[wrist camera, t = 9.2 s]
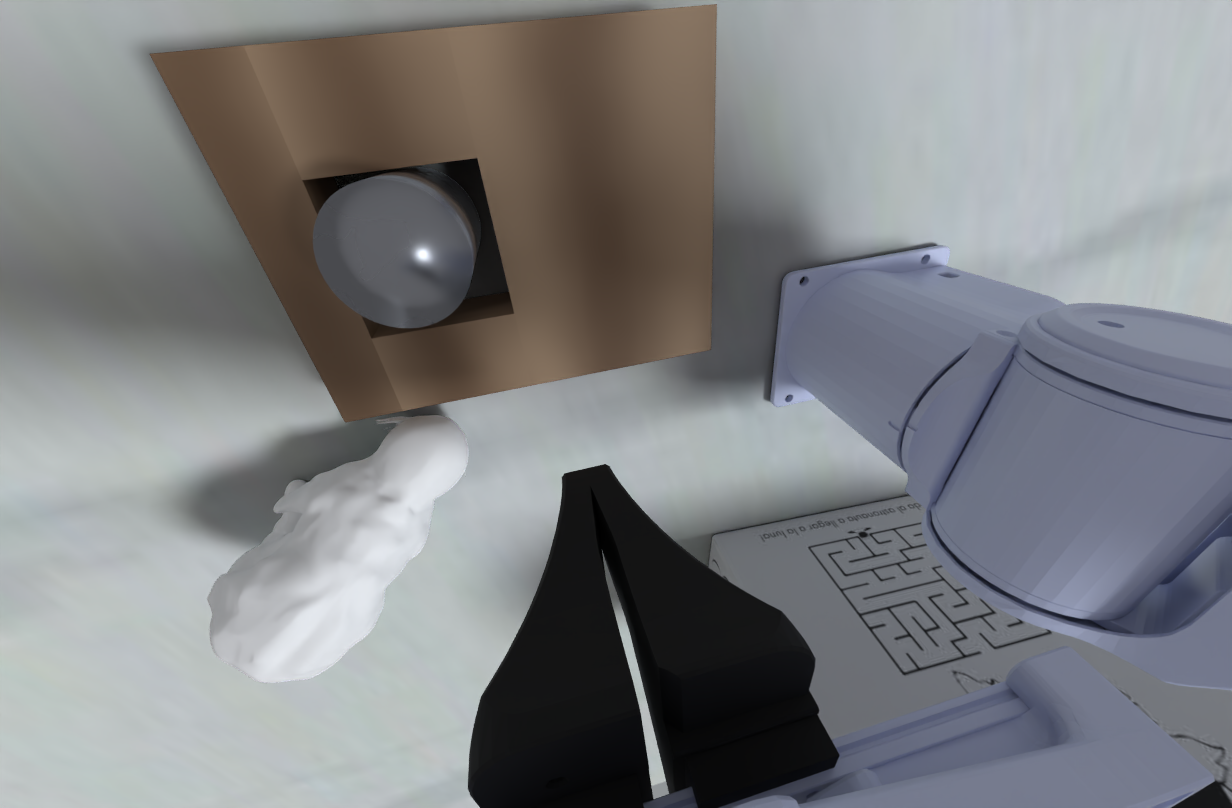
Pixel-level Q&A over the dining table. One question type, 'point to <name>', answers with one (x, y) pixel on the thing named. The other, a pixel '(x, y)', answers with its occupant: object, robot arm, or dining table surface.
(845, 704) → the cereal box
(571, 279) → the jig
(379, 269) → the grey dome knob
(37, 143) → the dining table surface
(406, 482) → the white lumpy piece
